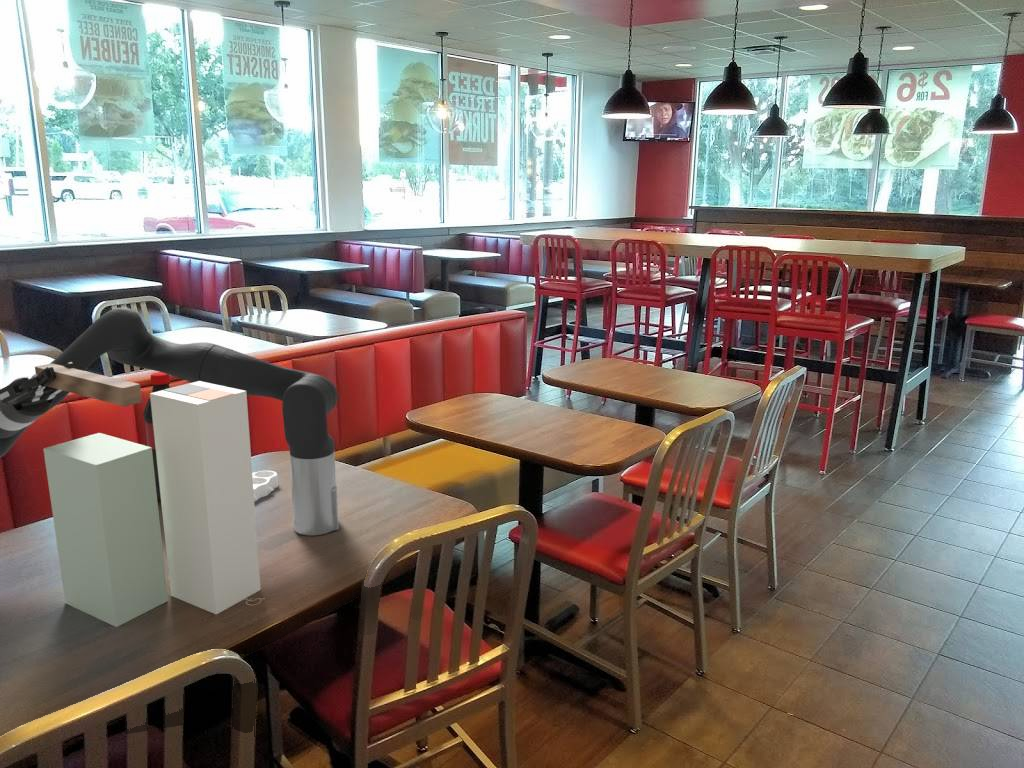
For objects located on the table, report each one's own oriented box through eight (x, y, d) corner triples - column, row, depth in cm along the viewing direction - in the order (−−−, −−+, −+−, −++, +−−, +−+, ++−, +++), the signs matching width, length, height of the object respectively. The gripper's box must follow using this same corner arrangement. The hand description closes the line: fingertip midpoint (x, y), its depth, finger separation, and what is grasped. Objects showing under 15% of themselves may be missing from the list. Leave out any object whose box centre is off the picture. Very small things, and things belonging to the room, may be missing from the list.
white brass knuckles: (246, 477, 201) (291, 487, 195) (190, 502, 185) (238, 515, 179) (245, 464, 200) (291, 474, 194) (189, 489, 184) (237, 501, 178)
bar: (37, 383, 136) (34, 366, 136) (54, 380, 139) (52, 363, 138) (124, 406, 125) (122, 388, 124) (141, 402, 127) (140, 384, 127)
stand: (171, 595, 144) (149, 392, 134) (216, 572, 152) (199, 380, 142) (216, 614, 138) (197, 404, 128) (260, 589, 146) (246, 390, 137)
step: (65, 603, 141) (43, 448, 133) (117, 579, 149) (99, 432, 142) (116, 627, 134) (96, 465, 126) (167, 600, 142) (151, 447, 135)
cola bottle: (199, 492, 190) (188, 370, 182) (173, 505, 182) (161, 379, 174) (170, 487, 192) (158, 367, 185) (144, 500, 185) (130, 375, 177)
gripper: (-30, 394, 138) (11, 357, 128) (50, 377, 150) (93, 342, 140) (-13, 433, 138) (29, 399, 128) (66, 413, 149) (110, 381, 140)
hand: (62, 369), depth 134 cm, fingers closed on bar, 3 cm apart
